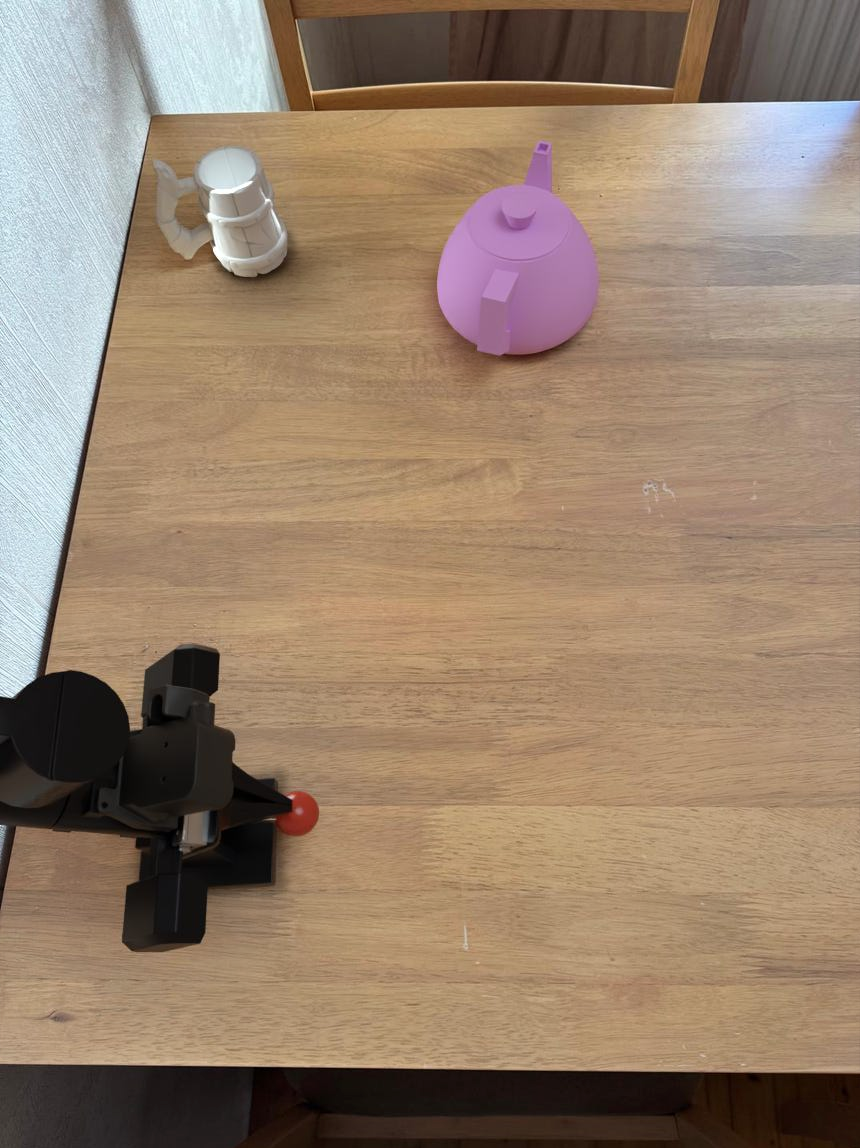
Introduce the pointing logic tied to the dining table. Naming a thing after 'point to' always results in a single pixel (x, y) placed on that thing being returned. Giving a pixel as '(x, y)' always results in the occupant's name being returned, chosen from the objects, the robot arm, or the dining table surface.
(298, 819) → the lever
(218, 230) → the mug
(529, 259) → the teapot
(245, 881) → the switch bracket
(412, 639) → the dining table surface
